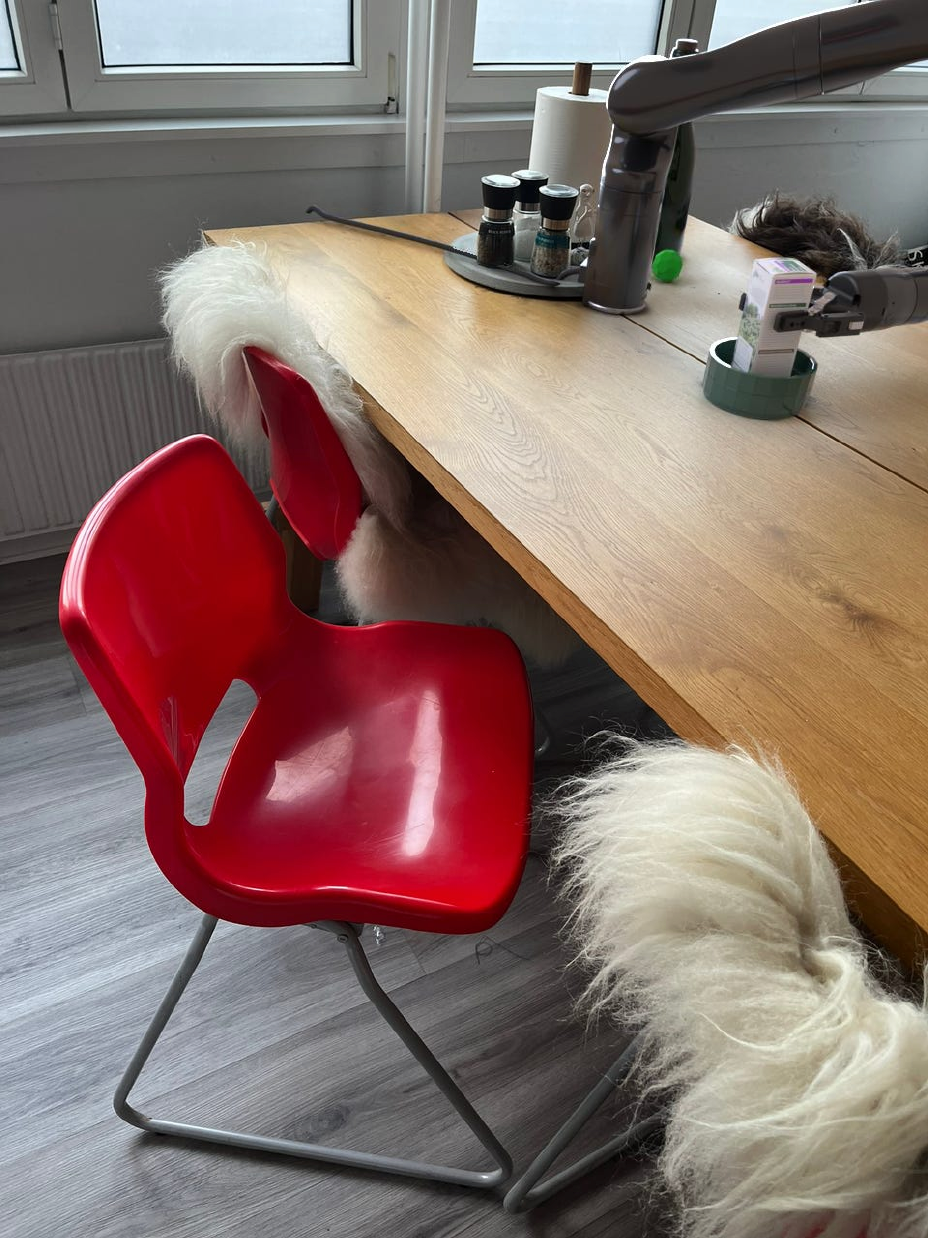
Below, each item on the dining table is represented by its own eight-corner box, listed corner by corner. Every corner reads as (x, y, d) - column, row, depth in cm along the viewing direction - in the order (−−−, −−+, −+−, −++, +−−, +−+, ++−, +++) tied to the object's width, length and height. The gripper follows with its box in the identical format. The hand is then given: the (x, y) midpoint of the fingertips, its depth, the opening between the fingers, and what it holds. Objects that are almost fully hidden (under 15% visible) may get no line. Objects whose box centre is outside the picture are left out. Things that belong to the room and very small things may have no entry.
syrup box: (788, 389, 118) (821, 272, 109) (744, 390, 117) (773, 272, 108) (769, 370, 122) (799, 256, 113) (726, 372, 121) (753, 256, 112)
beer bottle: (644, 265, 163) (681, 43, 143) (610, 247, 171) (641, 34, 151) (692, 259, 167) (735, 43, 147) (657, 242, 175) (693, 34, 155)
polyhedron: (684, 280, 158) (690, 250, 155) (673, 287, 155) (678, 257, 152) (656, 273, 160) (661, 244, 157) (645, 280, 157) (650, 251, 154)
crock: (693, 408, 117) (702, 365, 114) (708, 369, 128) (717, 330, 124) (801, 429, 114) (814, 386, 111) (808, 388, 124) (820, 348, 121)
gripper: (838, 252, 122) (730, 261, 116) (919, 289, 111) (805, 301, 106) (822, 310, 126) (717, 321, 121) (897, 351, 116) (787, 365, 110)
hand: (759, 312), depth 113 cm, fingers closed on syrup box, 6 cm apart
